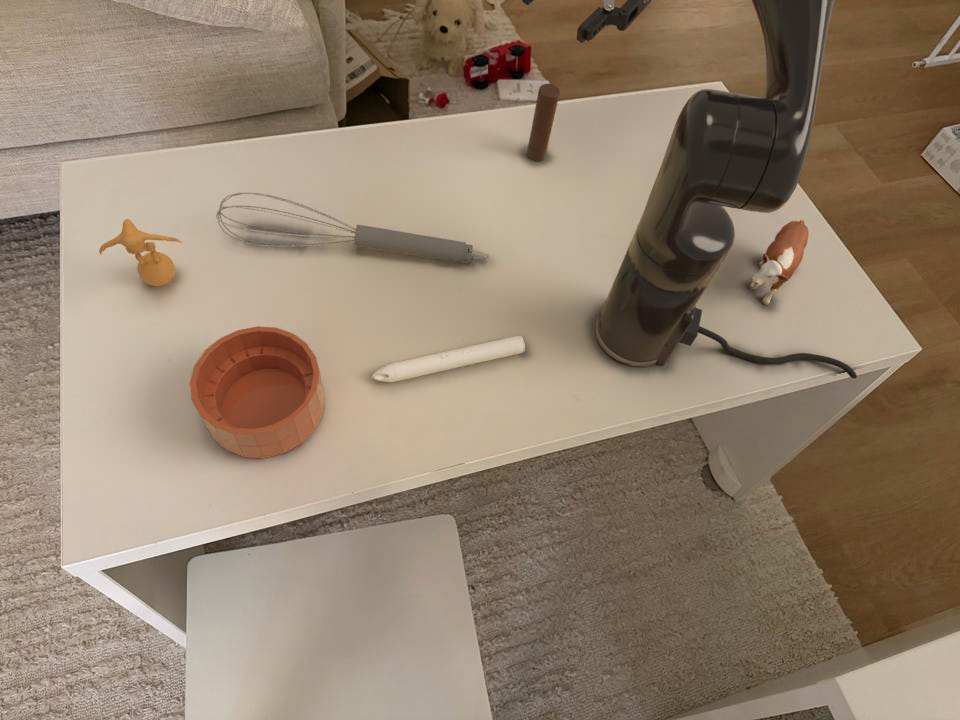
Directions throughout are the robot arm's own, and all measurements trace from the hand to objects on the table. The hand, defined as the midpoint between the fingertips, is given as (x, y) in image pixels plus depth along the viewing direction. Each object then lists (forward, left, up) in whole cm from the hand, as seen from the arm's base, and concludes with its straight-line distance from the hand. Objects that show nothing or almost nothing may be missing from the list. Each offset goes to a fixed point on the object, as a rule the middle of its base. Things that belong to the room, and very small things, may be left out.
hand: (551, 16), depth 77 cm
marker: (-2, +36, -22) cm, 42 cm away
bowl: (+15, +48, -22) cm, 55 cm away
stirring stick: (-1, -3, -22) cm, 22 cm away
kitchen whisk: (+16, +23, -22) cm, 36 cm away
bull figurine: (-36, +8, -22) cm, 43 cm away
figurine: (+34, +38, -22) cm, 56 cm away
